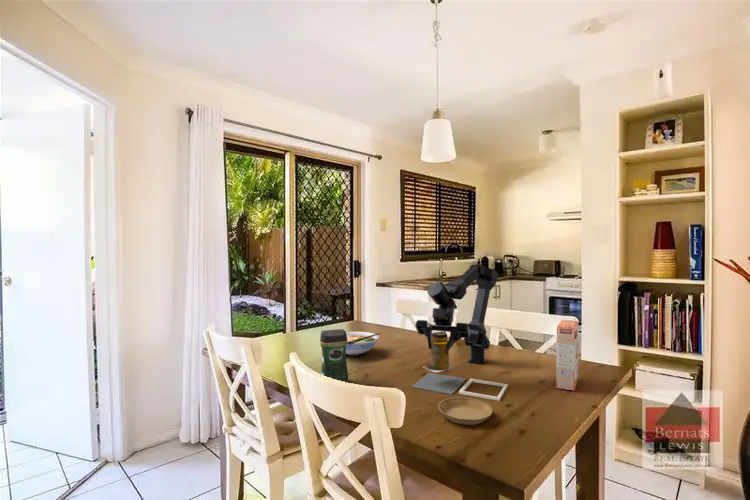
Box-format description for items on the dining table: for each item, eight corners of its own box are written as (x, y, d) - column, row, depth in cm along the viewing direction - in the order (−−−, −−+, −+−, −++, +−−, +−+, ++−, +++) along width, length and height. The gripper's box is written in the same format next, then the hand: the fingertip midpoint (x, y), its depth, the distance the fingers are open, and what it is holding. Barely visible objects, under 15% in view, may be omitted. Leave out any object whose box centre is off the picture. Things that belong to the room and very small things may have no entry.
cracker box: (576, 392, 125) (575, 327, 125) (555, 388, 128) (555, 325, 128) (579, 379, 137) (579, 320, 137) (560, 376, 140) (560, 319, 140)
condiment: (454, 368, 134) (453, 333, 134) (435, 373, 129) (435, 337, 129) (439, 363, 140) (439, 330, 140) (421, 367, 135) (421, 333, 135)
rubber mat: (428, 373, 145) (428, 372, 145) (465, 379, 138) (465, 378, 138) (411, 387, 131) (411, 386, 131) (451, 395, 124) (451, 393, 124)
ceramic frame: (470, 380, 137) (470, 378, 137) (507, 386, 131) (507, 384, 131) (459, 393, 125) (459, 391, 125) (499, 400, 119) (499, 398, 119)
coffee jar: (345, 377, 142) (344, 326, 141) (350, 384, 134) (349, 331, 134) (318, 380, 139) (318, 328, 138) (322, 388, 131) (321, 333, 131)
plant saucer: (503, 425, 103) (502, 415, 103) (450, 431, 100) (450, 421, 100) (476, 404, 117) (476, 395, 117) (430, 408, 114) (430, 399, 114)
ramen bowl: (351, 344, 190) (351, 327, 190) (390, 351, 177) (390, 333, 177) (315, 355, 170) (315, 337, 170) (356, 364, 157) (356, 344, 157)
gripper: (416, 297, 141) (406, 334, 132) (468, 300, 134) (462, 339, 124) (423, 315, 149) (414, 351, 139) (472, 318, 141) (467, 357, 131)
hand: (438, 349), depth 133 cm, fingers closed on condiment, 6 cm apart
